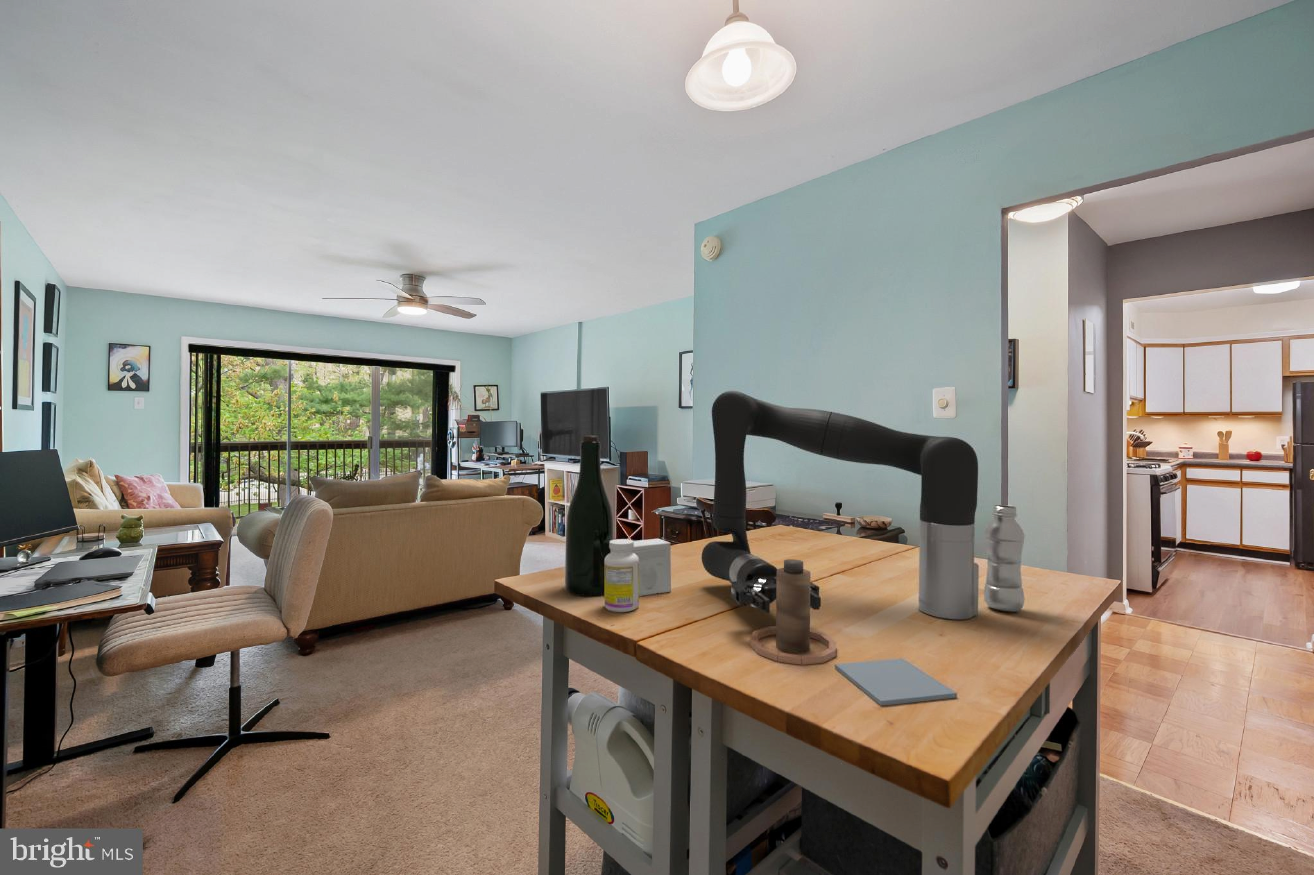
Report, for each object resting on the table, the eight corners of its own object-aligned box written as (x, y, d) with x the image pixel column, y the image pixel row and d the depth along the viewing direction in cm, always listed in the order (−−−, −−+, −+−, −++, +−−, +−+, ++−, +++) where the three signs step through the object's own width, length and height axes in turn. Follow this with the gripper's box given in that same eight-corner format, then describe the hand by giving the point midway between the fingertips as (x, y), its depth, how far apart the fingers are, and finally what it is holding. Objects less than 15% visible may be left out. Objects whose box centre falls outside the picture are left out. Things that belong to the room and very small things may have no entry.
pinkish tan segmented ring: (810, 629, 95) (810, 623, 95) (852, 660, 82) (852, 653, 82) (739, 634, 92) (739, 628, 92) (771, 667, 80) (771, 660, 80)
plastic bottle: (1025, 617, 101) (1026, 509, 101) (982, 611, 105) (984, 506, 105) (1023, 608, 107) (1025, 505, 107) (983, 602, 111) (984, 503, 110)
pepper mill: (800, 639, 90) (801, 557, 90) (815, 652, 85) (816, 564, 85) (770, 641, 89) (771, 558, 89) (784, 654, 84) (785, 566, 84)
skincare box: (658, 584, 122) (658, 537, 122) (671, 592, 116) (672, 542, 116) (614, 590, 118) (614, 541, 118) (625, 598, 112) (626, 547, 112)
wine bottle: (593, 600, 111) (594, 435, 110) (554, 591, 116) (555, 435, 116) (624, 587, 119) (624, 435, 119) (586, 580, 125) (587, 434, 124)
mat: (902, 662, 82) (902, 658, 82) (957, 697, 71) (957, 692, 71) (834, 668, 80) (834, 664, 80) (880, 705, 69) (880, 700, 69)
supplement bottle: (619, 600, 111) (619, 536, 110) (645, 606, 107) (646, 540, 107) (596, 608, 105) (597, 541, 105) (623, 615, 101) (624, 546, 101)
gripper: (718, 559, 102) (750, 584, 86) (790, 556, 105) (834, 579, 89) (718, 600, 102) (750, 631, 86) (790, 595, 105) (834, 625, 89)
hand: (793, 605), depth 87 cm, fingers open, 8 cm apart
